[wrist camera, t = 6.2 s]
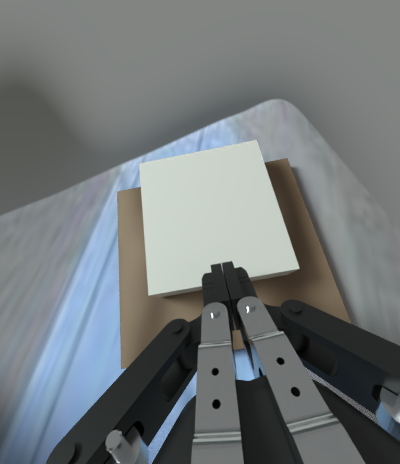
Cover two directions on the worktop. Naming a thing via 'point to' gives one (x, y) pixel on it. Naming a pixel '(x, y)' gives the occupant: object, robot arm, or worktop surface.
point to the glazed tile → (211, 218)
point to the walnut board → (191, 304)
